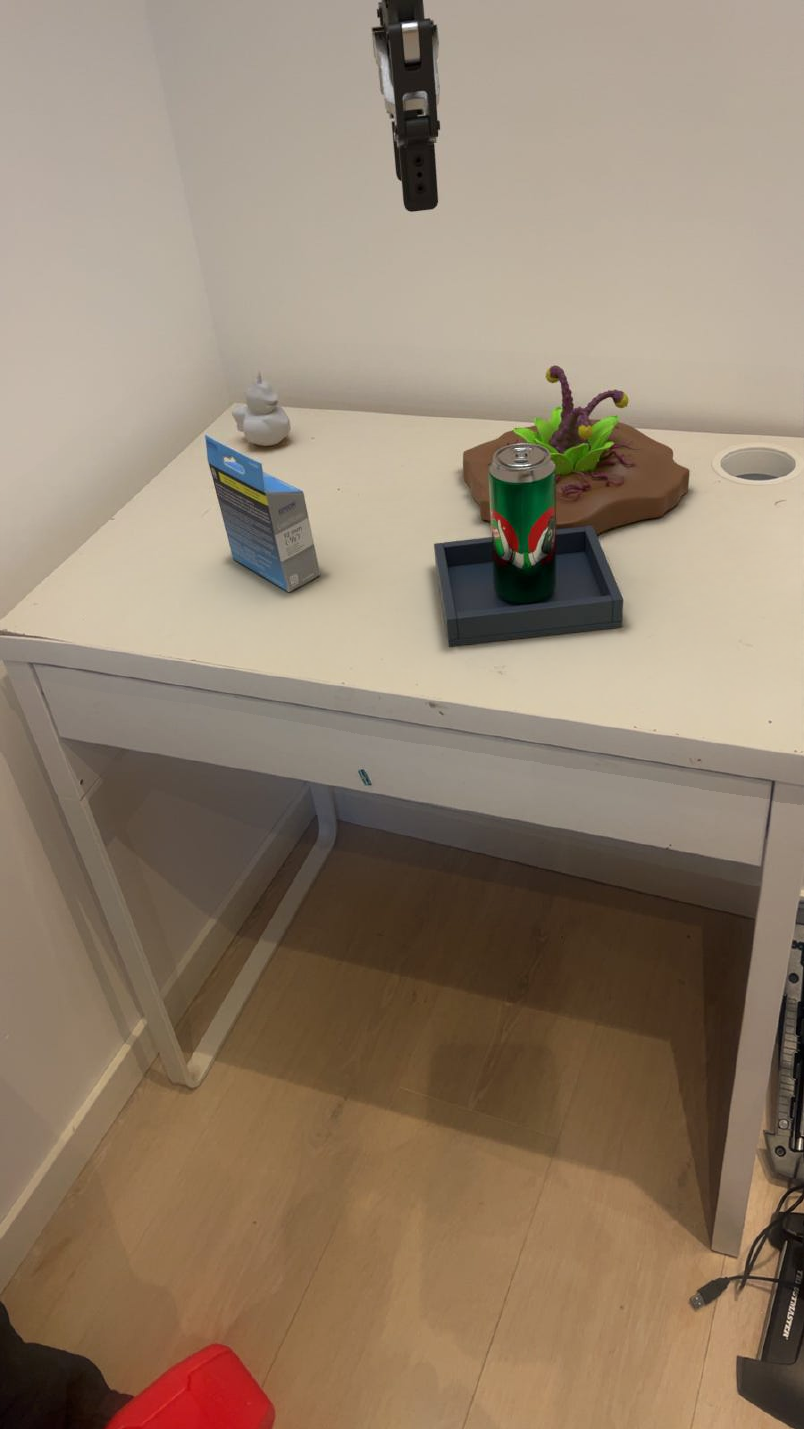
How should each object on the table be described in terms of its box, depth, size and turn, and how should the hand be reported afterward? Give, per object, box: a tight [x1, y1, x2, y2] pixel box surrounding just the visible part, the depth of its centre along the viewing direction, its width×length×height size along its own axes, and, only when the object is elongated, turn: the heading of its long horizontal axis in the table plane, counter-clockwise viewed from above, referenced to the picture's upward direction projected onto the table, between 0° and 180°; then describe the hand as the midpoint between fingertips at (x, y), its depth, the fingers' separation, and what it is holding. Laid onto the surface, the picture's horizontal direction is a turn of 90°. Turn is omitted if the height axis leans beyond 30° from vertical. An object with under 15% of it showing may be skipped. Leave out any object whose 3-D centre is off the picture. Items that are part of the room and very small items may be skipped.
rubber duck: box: [231, 371, 291, 447], centre depth 111 cm, size 5×7×8 cm
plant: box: [462, 364, 690, 536], centre depth 96 cm, size 20×20×11 cm
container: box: [433, 526, 624, 647], centre depth 85 cm, size 14×12×3 cm
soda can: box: [488, 443, 556, 605], centre depth 81 cm, size 5×5×12 cm
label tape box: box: [204, 432, 321, 593], centre depth 89 cm, size 9×4×12 cm, turn 41°
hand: (416, 193), depth 70 cm, fingers open, 8 cm apart
